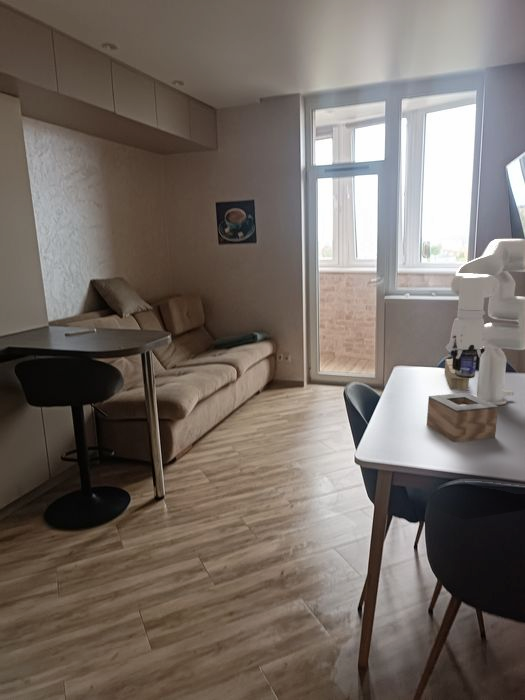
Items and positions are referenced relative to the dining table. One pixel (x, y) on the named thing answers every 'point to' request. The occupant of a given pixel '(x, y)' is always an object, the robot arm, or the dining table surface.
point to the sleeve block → (462, 417)
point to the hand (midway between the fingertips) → (465, 368)
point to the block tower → (454, 377)
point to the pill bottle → (467, 363)
